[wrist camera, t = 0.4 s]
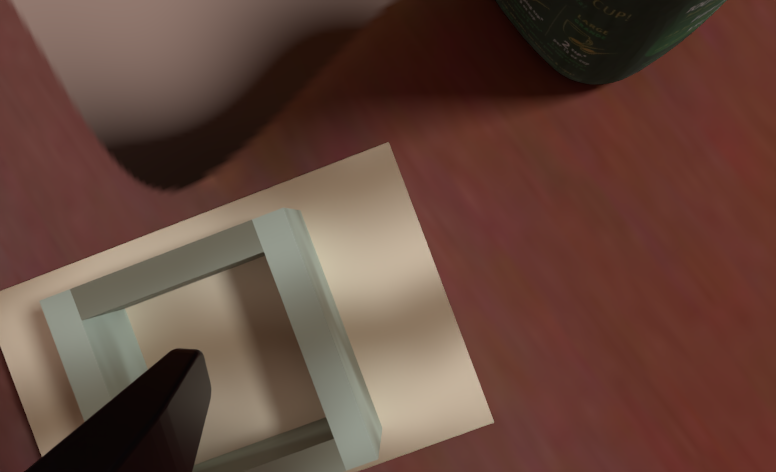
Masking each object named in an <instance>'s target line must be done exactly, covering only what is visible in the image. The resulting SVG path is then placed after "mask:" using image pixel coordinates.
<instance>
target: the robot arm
mask: <svg viewBox="0 0 776 472" xmlns="http://www.w3.org/2000/svg"><path fill="white" fill-rule="evenodd" d="M210 400H211V382H210V378H209V374H208V370H207V366H206V362H205V358H204V355H203V353H202V352H201V351H200V350H198V349H183V348H176V349H173V350H171V351H170V352H168V353H167V354H166V355H165V356H164V357H162V358H161V359H160V360H159V361H158V362H156V363H155V364H154V365H153V366H152V367H150V368H149V369H148V370H147V371H145V372H144V373H143V374H142V375H141V376H139V377H138V378H137V379H136V380H135V381H133V382H132V383H131V384H130V385H129V386H127V387H126V388H125V389H124V390H122V391H121V392H120V393H119V394H118V395H116V396H115V397H114V398H113V399H112V400H110V401H109V402H108V403H107V404H105V405H104V406H103V407H102V408H101V409H99V410H98V411H97V412H96V413H95V414H93V415H92V416H91V417H90V418H89V419H87V420H86V421H85V422H84V423H82V424H81V425H80V426H79V427H78V428H76V429H75V430H74V431H73V432H72V433H70V434H69V435H68V436H67V437H66V438H64V439H63V440H62V441H61V442H59V443H58V444H57V445H56V446H55V447H53V448H52V449H51V450H50V451H49V452H47V453H46V454H45V455H44V456H43V457H41V458H40V459H39V460H38V461H36V462H35V463H34V464H33V465H32V466H30V467H29V468H28V469H27V470H26V471H24V472H192V471H193V467H194V463H195V459H196V455H197V451H198V447H199V444H200V440H201V436H202V432H203V428H204V424H205V420H206V416H207V412H208V408H209V404H210Z"/></svg>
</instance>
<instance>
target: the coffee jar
mask: <svg viewBox="0 0 776 472" xmlns="http://www.w3.org/2000/svg"><path fill="white" fill-rule="evenodd" d="M495 1H496V2H497V4H498V5H499V7H500V8H501V9H502V11H503V12H504V13H505V15H506V16H507V17H508V19H509V20H510V21H511V23H512V24H513V25H514V26H515V28H516V29H517V30H518V31H519V33H520V34H521V35H522V36H523V38H524V39H525V40H526V41H527V42H528V43H529V44H530V46H531V47H532V48H533V49H534V50H535V51H536V52H537V53H538V54H539V55H540V56H541V57H542V58H543V59H544V60H545V61H546V62H547V63H548V64H549V65H551V66H552V67H553V68H554V69H555V70H556V71H557V72H559V73H560V74H562V75H563V76H565V77H567V78H569V79H571V80H574V81H577V82H580V83H585V84H593V85H594V84H607V83H613V82H616V81H619V80H622V79H624V78H627V77H629V76H631V75H633V74H634V73H636V72H638V71H640V70H642V69H643V68H645V67H646V66H648V65H649V64H651V63H652V62H654V61H655V60H657V59H658V58H660V57H661V56H663V55H664V54H665V53H667V52H668V51H669V50H671V49H672V48H674V47H675V46H676V45H678V44H679V43H680V42H681V41H683V40H684V39H685V38H686V37H687V36H689V35H690V34H691V33H692V32H693V31H695V30H696V29H697V28H698V27H699V26H700V25H701V24H703V23H704V22H705V21H706V20H707V19H708V18H709V17H710V16H711V15H712V14H713V13H714V12H715V11H716V10H717V9H718V8H719V7H720V6H721V5H722V4H723V3H724V2H725V1H726V0H495Z"/></svg>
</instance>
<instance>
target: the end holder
mask: <svg viewBox="0 0 776 472" xmlns="http://www.w3.org/2000/svg"><path fill="white" fill-rule="evenodd" d="M0 347H1V349H2V352H3V355H4V357H5V360H6V363H7V365H8V368H9V371H10V373H11V376H12V379H13V381H14V384H15V387H16V389H17V392H18V395H19V397H20V400H21V403H22V405H23V408H24V411H25V413H26V416H27V419H28V421H29V424H30V427H31V429H32V432H33V435H34V437H35V440H36V443H37V445H38V448H39V451H40V453H41V456H42V457H43V456H44V455H45V454H46V453H47V452H49V451H50V450H51V449H52V448H53V447H55V446H56V445H57V444H58V443H59V442H61V441H62V440H63V439H64V438H66V437H67V436H68V435H69V434H70V433H72V432H73V431H74V430H75V429H76V428H78V427H79V426H80V425H81V424H82V423H84V422H85V421H86V420H87V419H89V418H90V417H91V416H92V415H93V414H95V413H96V412H97V411H98V410H99V409H101V408H102V407H103V406H104V405H105V404H107V403H108V402H109V401H110V400H112V399H113V398H114V397H115V396H116V395H118V394H119V393H120V392H121V391H122V390H124V389H125V388H126V387H127V386H129V385H130V384H131V383H132V382H133V381H135V380H136V379H137V378H138V377H139V376H141V375H142V374H143V373H144V372H145V371H147V370H148V369H149V368H150V367H152V366H153V365H154V364H155V363H156V362H158V361H159V360H160V359H161V358H162V357H164V356H165V355H166V354H167V353H168V352H170V351H171V350H173V349H176V348H183V349H198V350H200V351H201V352H202V353H203V355H204V358H205V362H206V366H207V370H208V374H209V378H210V382H211V400H210V404H209V408H208V412H207V416H206V420H205V424H204V428H203V432H202V436H201V440H200V444H199V447H198V451H197V455H196V459H195V463H194V467H193V471H192V472H357V471H360V470H363V469H366V468H368V467H371V466H374V465H377V464H380V463H382V462H385V461H388V460H391V459H394V458H396V457H399V456H402V455H405V454H407V453H410V452H413V451H416V450H419V449H421V448H424V447H427V446H430V445H433V444H435V443H438V442H441V441H444V440H447V439H449V438H452V437H455V436H458V435H460V434H463V433H466V432H469V431H472V430H474V429H477V428H480V427H483V426H486V425H488V424H491V423H494V420H493V418H492V415H491V412H490V410H489V407H488V404H487V402H486V399H485V396H484V394H483V391H482V389H481V386H480V383H479V381H478V378H477V375H476V373H475V370H474V367H473V365H472V362H471V359H470V357H469V354H468V351H467V349H466V346H465V343H464V341H463V338H462V335H461V333H460V330H459V327H458V325H457V322H456V319H455V317H454V314H453V312H452V309H451V306H450V304H449V301H448V298H447V296H446V293H445V290H444V288H443V285H442V282H441V280H440V277H439V274H438V272H437V269H436V266H435V264H434V261H433V258H432V256H431V253H430V250H429V248H428V245H427V242H426V240H425V237H424V235H423V232H422V229H421V227H420V224H419V221H418V219H417V216H416V213H415V211H414V208H413V205H412V203H411V200H410V197H409V195H408V192H407V189H406V187H405V184H404V181H403V179H402V176H401V173H400V171H399V168H398V165H397V163H396V160H395V158H394V155H393V152H392V150H391V147H390V144H389V142H387V143H385V144H382V145H380V146H377V147H374V148H372V149H369V150H367V151H364V152H361V153H359V154H356V155H354V156H351V157H348V158H346V159H343V160H341V161H338V162H335V163H333V164H330V165H328V166H325V167H322V168H320V169H317V170H315V171H312V172H309V173H307V174H304V175H302V176H299V177H296V178H294V179H291V180H289V181H286V182H283V183H281V184H278V185H275V186H273V187H270V188H268V189H265V190H262V191H260V192H257V193H255V194H252V195H249V196H247V197H244V198H242V199H239V200H236V201H234V202H231V203H229V204H226V205H223V206H221V207H218V208H216V209H213V210H210V211H208V212H205V213H203V214H200V215H197V216H195V217H192V218H190V219H187V220H184V221H182V222H179V223H177V224H174V225H171V226H169V227H166V228H164V229H161V230H158V231H156V232H153V233H151V234H148V235H145V236H143V237H140V238H137V239H135V240H132V241H130V242H127V243H124V244H122V245H119V246H117V247H114V248H111V249H109V250H106V251H104V252H101V253H98V254H96V255H93V256H91V257H88V258H85V259H83V260H80V261H78V262H75V263H72V264H70V265H67V266H65V267H62V268H59V269H57V270H54V271H52V272H49V273H46V274H44V275H41V276H39V277H36V278H33V279H31V280H28V281H26V282H23V283H20V284H18V285H15V286H12V287H10V288H7V289H5V290H2V291H0Z"/></svg>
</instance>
